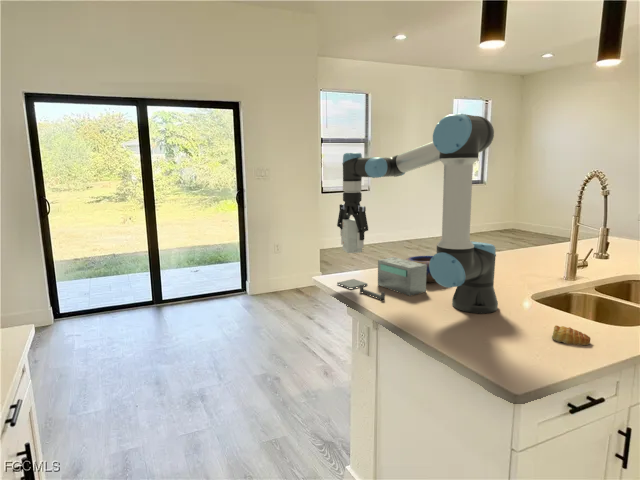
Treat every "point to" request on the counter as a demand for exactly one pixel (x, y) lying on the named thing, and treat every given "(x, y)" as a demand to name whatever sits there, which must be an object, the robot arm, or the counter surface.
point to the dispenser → (400, 277)
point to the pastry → (570, 336)
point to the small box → (350, 236)
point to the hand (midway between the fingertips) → (352, 246)
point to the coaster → (352, 283)
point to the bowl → (423, 261)
